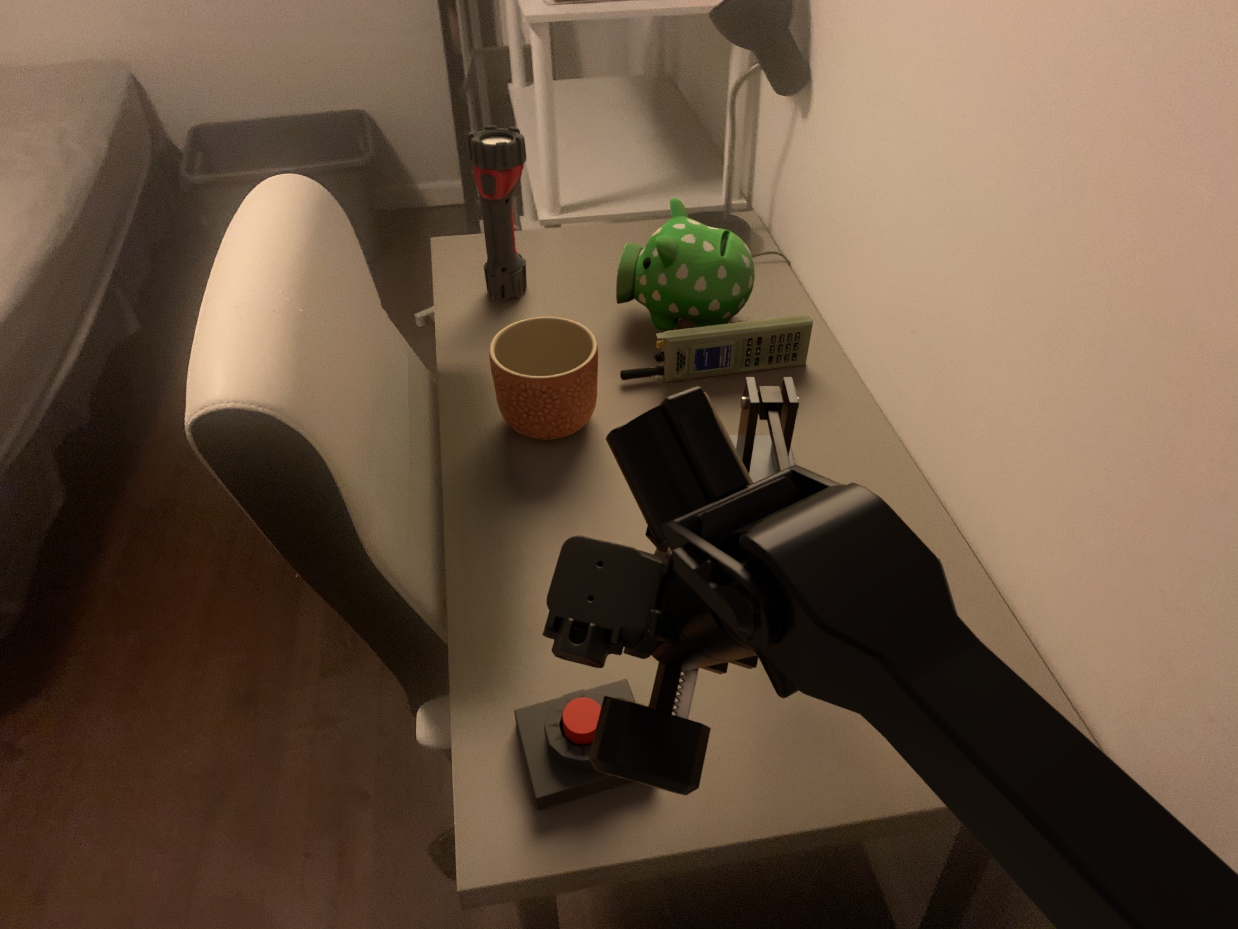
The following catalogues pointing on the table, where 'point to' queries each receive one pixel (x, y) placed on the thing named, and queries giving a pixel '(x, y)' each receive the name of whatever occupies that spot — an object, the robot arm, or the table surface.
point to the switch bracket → (759, 447)
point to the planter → (545, 376)
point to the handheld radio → (729, 349)
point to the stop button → (581, 720)
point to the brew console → (563, 749)
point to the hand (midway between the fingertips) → (638, 638)
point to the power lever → (774, 422)
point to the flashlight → (499, 206)
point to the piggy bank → (687, 273)
